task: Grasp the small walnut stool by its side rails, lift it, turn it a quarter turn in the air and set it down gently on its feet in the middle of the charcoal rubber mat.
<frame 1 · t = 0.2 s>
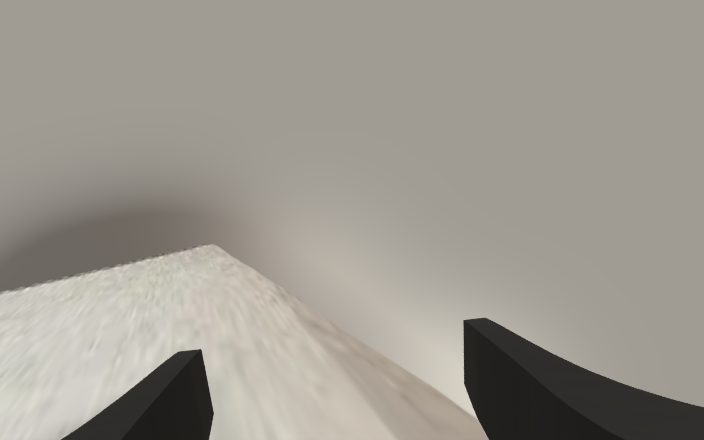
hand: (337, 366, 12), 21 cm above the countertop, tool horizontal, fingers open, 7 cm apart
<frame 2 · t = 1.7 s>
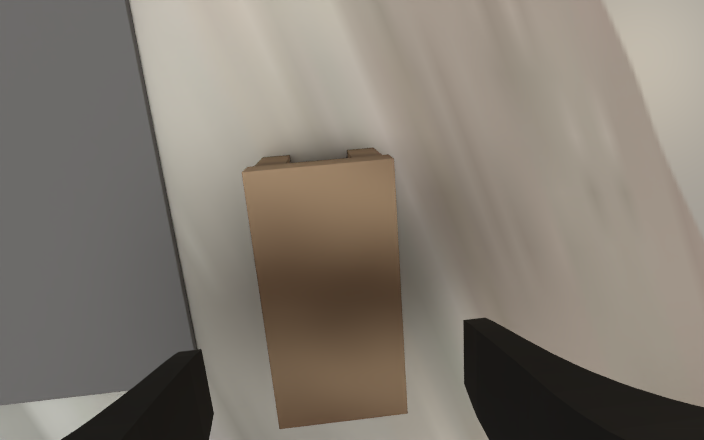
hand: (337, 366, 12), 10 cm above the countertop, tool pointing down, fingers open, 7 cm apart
stool: (328, 252, 21), on the countertop
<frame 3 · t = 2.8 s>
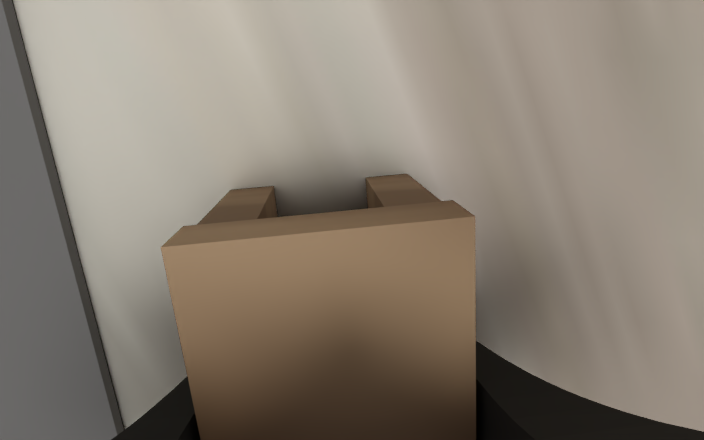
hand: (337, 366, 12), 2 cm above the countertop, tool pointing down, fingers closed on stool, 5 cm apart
stool: (335, 333, 14), on the countertop, touching gripper
when the fingers open (3 cm above the countertop, at t = 8.4 s): stool stays where it is, resting on mat.
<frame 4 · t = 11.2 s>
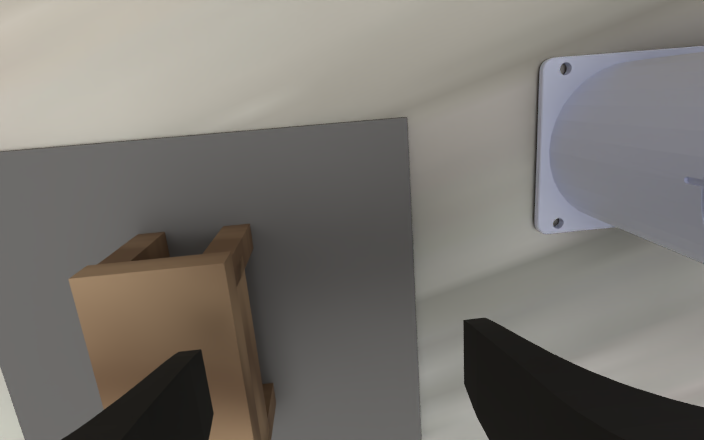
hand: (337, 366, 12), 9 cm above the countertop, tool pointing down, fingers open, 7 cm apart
stool: (211, 324, 21), resting on mat
mat: (212, 322, 21), on the countertop
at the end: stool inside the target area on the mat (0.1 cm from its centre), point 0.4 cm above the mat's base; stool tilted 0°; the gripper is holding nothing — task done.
